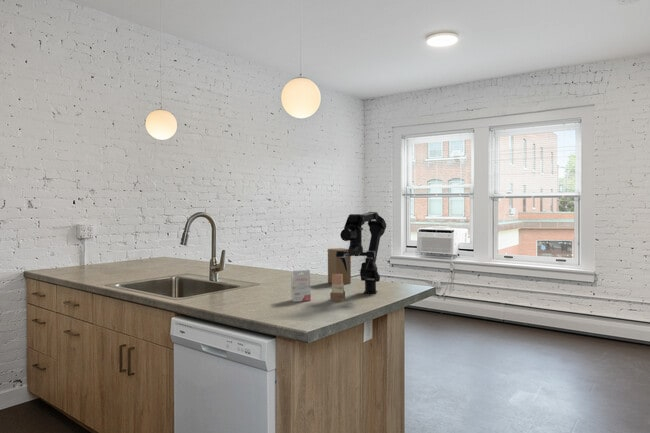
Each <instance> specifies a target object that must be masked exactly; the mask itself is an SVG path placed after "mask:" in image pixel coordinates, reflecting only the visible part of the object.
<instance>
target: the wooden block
mask: <svg viewBox="0 0 650 433" xmlns="http://www.w3.org/2000/svg"><path fill="white" fill-rule="evenodd" d="M348 249H349V248H343V247H337V248H336V247H335V248H334V247H333V248H327V283H328V284H332V275H333V274H343V283H344V285H348V283H350V284H352V279H351V278H352V274H351V272H352V270H351V269H352V268H351V267H352V264H351V263H352V262H351V259H352V256H347V271H346V269H345V266H344V263H343V261H342V260H341V259H339V257H336V252H337V251H339V250H346V252H348Z"/></svg>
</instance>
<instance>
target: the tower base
mask: <svg viewBox="0 0 650 433" xmlns="http://www.w3.org/2000/svg"><path fill="white" fill-rule="evenodd" d="M329 296H330V297H329V298H330V302H342V303H343V302H344V301H345V300H346V291H345V290H344V292H343V293H332V291H330V294H329Z"/></svg>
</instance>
